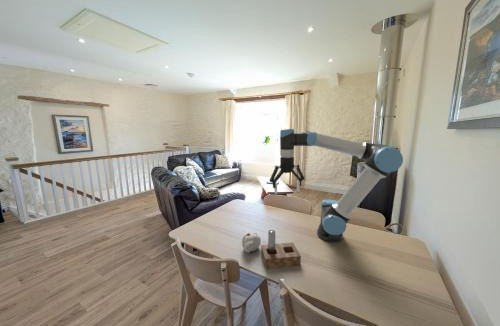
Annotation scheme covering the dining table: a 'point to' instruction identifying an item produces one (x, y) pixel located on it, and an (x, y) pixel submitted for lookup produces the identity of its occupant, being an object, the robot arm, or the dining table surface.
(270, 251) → the pin
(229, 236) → the dining table surface
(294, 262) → the bore block
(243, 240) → the white lumpy figurine
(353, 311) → the dining table surface
